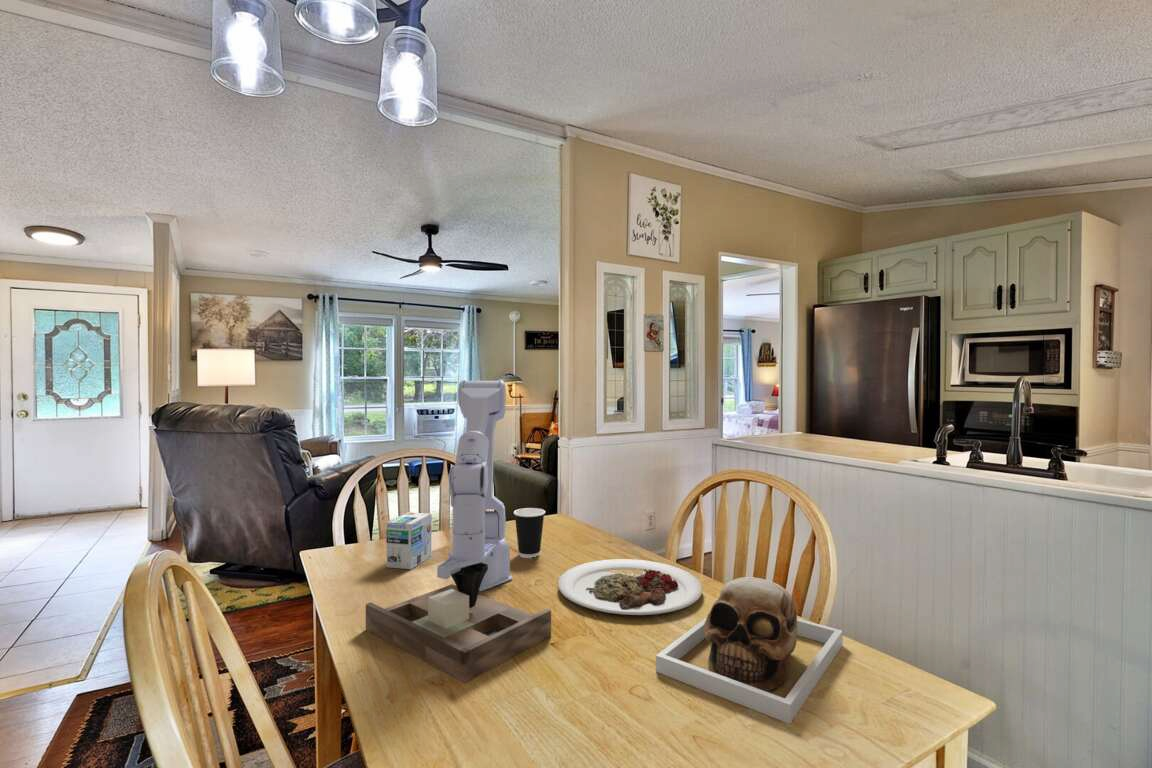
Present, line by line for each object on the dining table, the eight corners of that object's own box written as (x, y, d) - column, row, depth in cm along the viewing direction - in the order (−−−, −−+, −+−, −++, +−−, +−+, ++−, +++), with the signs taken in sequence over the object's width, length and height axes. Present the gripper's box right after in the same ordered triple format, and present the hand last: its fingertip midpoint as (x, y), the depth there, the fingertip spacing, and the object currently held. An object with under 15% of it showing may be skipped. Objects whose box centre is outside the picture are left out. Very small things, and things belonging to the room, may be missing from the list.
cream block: (451, 610, 99) (451, 588, 99) (469, 618, 96) (469, 595, 96) (428, 620, 95) (427, 597, 95) (445, 628, 92) (445, 604, 92)
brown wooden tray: (451, 596, 112) (451, 574, 112) (551, 635, 95) (551, 610, 95) (365, 629, 97) (365, 604, 97) (464, 683, 80) (464, 652, 80)
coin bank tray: (728, 612, 105) (728, 599, 105) (842, 645, 92) (842, 630, 92) (655, 671, 84) (656, 655, 84) (790, 724, 71) (790, 704, 71)
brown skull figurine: (721, 698, 76) (722, 596, 78) (686, 649, 94) (687, 567, 95) (832, 698, 78) (831, 598, 79) (777, 650, 95) (777, 568, 97)
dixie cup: (507, 554, 139) (507, 510, 139) (534, 548, 144) (534, 506, 144) (524, 562, 133) (524, 517, 133) (551, 556, 138) (551, 512, 137)
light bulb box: (411, 570, 127) (411, 523, 127) (385, 568, 129) (385, 522, 128) (432, 555, 138) (432, 512, 138) (407, 553, 139) (407, 511, 139)
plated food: (528, 592, 115) (528, 576, 115) (617, 558, 137) (617, 544, 137) (645, 639, 95) (645, 619, 95) (728, 590, 117) (728, 574, 117)
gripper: (475, 518, 107) (475, 588, 107) (423, 537, 94) (423, 616, 94) (505, 523, 104) (505, 594, 104) (455, 543, 91) (455, 625, 91)
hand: (468, 605), depth 99 cm, fingers closed
